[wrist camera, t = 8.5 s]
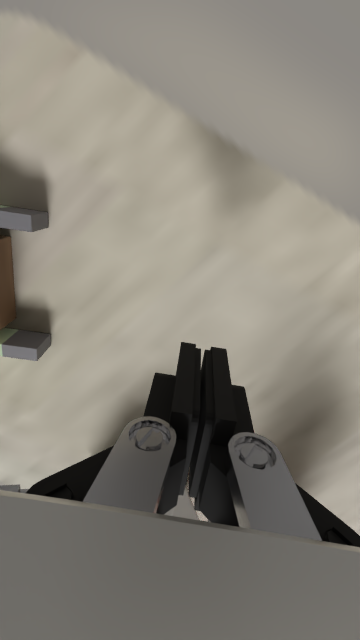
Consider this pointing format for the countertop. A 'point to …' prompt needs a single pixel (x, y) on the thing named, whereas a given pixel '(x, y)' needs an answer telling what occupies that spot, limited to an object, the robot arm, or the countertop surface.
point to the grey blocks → (13, 339)
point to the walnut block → (6, 283)
